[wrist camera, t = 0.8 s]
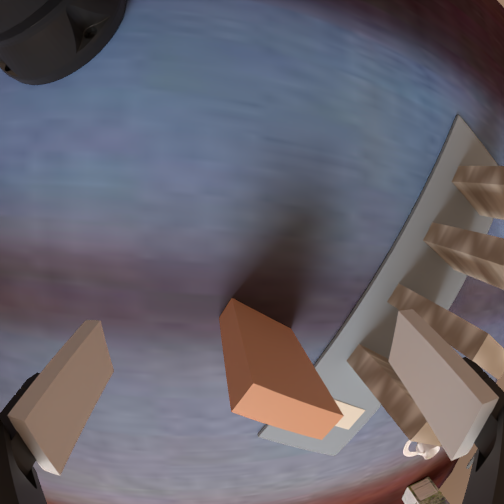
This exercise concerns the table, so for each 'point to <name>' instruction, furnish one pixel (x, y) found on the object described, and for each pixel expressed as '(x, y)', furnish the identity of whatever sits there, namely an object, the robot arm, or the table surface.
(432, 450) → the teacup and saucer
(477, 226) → the mat
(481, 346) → the domino
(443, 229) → the domino
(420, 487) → the syrup box
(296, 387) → the terracotta domino
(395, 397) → the domino
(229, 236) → the table surface
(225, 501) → the table surface
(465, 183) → the domino
